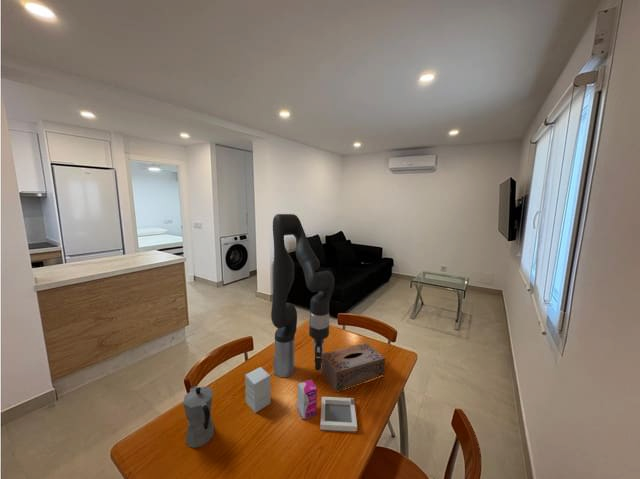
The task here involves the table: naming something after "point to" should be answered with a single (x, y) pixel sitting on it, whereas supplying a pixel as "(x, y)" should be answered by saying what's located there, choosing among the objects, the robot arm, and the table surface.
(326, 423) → the socket plate
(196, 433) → the coffeepot
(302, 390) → the supplement box
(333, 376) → the tissue box cover
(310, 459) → the table surface
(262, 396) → the supplement box
